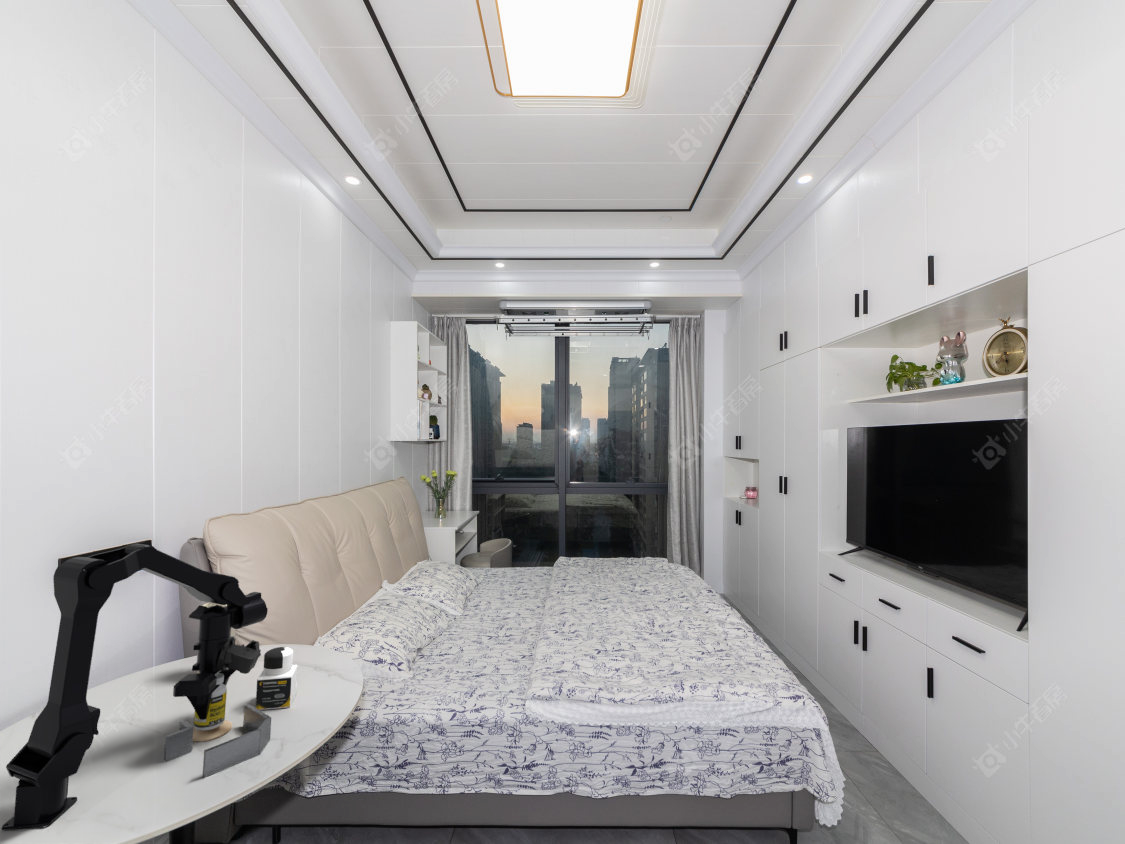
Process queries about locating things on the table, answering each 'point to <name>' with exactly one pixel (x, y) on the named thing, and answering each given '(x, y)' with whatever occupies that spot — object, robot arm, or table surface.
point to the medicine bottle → (277, 680)
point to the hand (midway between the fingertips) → (210, 712)
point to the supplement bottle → (214, 708)
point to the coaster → (211, 732)
